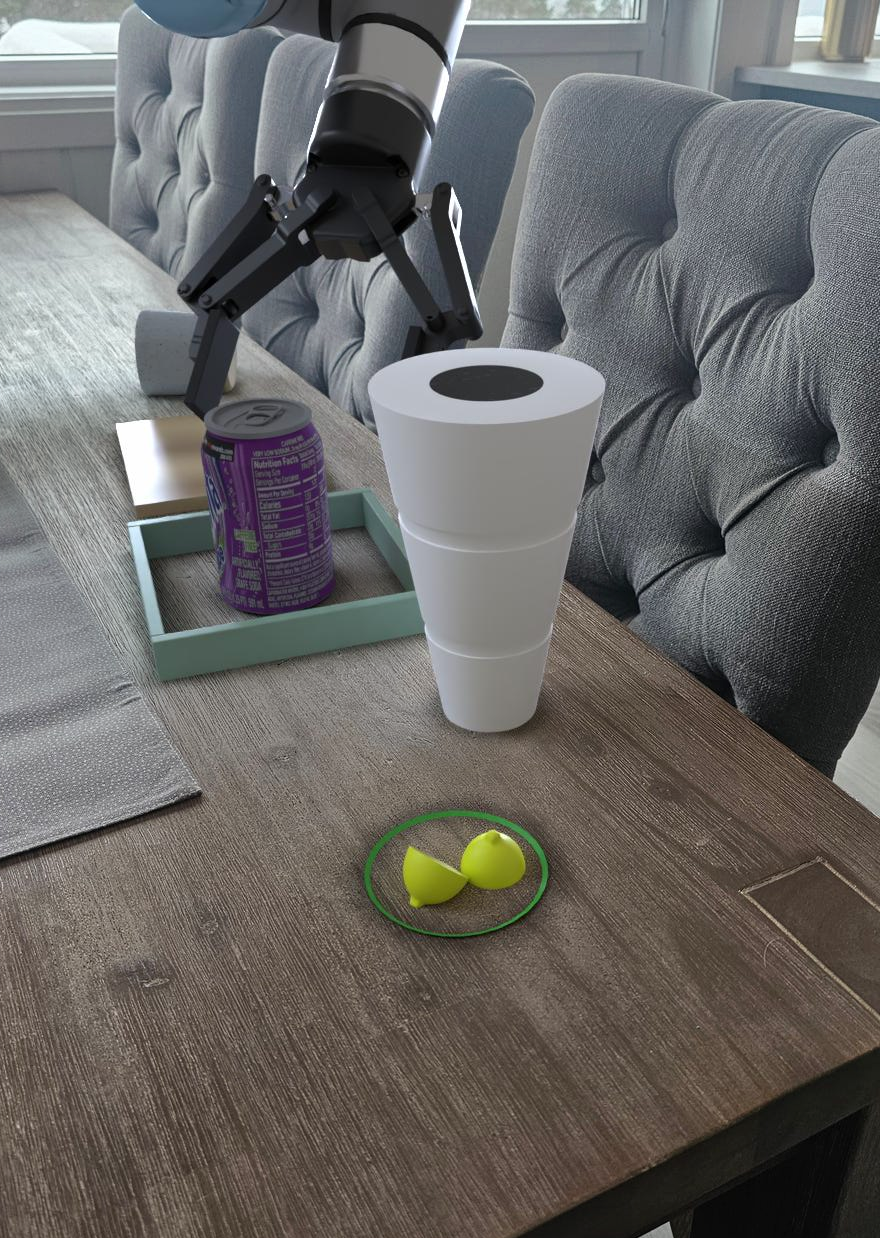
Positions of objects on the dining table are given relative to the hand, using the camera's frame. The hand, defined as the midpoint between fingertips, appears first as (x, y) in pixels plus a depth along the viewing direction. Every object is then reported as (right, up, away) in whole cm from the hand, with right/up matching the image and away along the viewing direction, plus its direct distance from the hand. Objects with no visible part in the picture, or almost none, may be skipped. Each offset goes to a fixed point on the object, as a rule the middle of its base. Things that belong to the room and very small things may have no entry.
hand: (294, 424), depth 69 cm
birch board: (-10, +1, +21) cm, 23 cm away
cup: (+12, -18, -9) cm, 23 cm away
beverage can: (-1, -11, +2) cm, 11 cm away
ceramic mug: (-16, +12, +37) cm, 42 cm away
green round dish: (+10, -25, -20) cm, 33 cm away
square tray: (-1, -10, +2) cm, 11 cm away
